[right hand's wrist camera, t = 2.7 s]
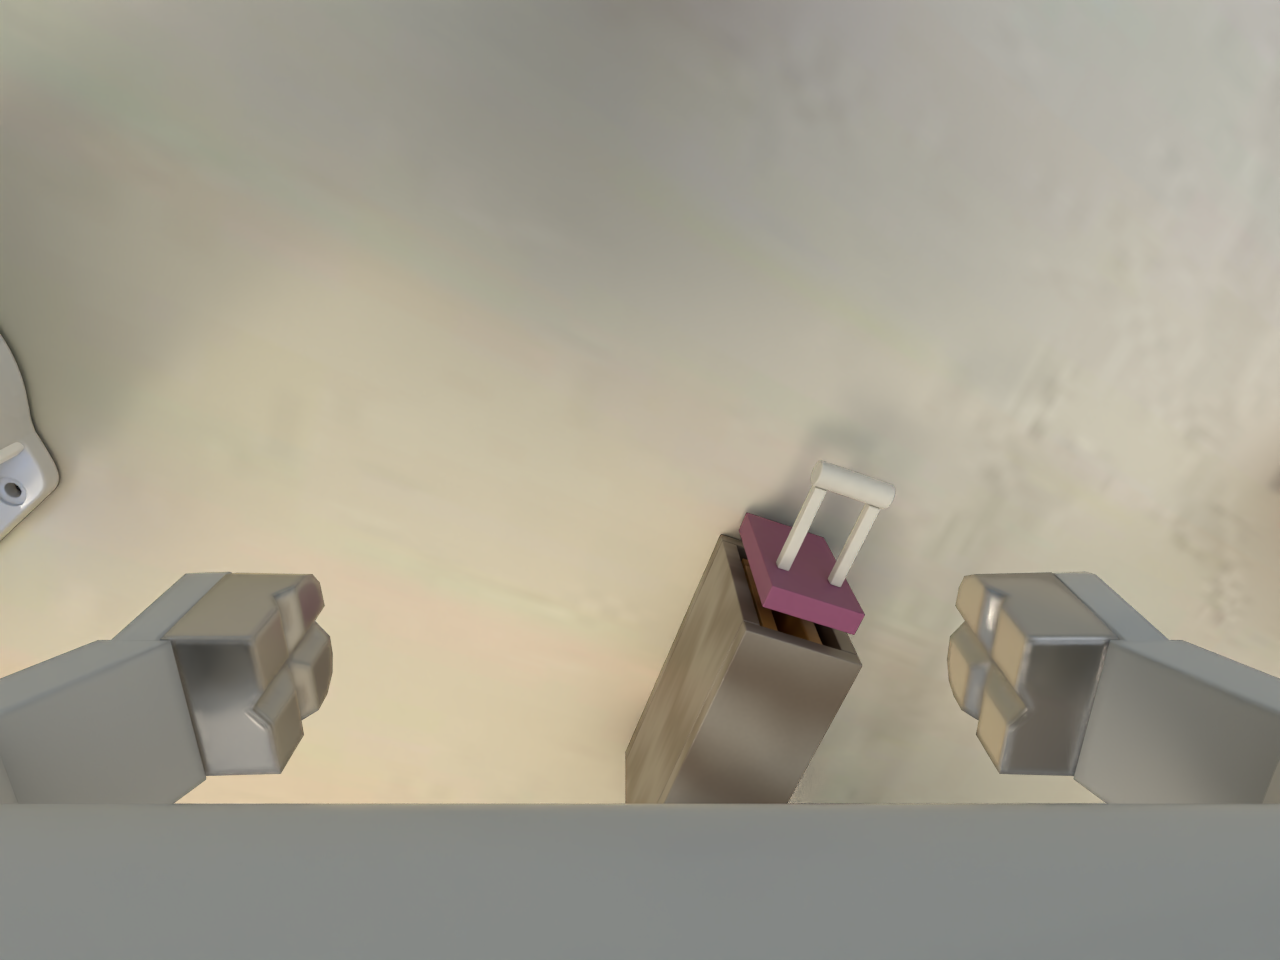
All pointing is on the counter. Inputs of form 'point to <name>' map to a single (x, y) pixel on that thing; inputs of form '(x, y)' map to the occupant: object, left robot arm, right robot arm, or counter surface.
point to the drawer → (810, 559)
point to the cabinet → (735, 700)
